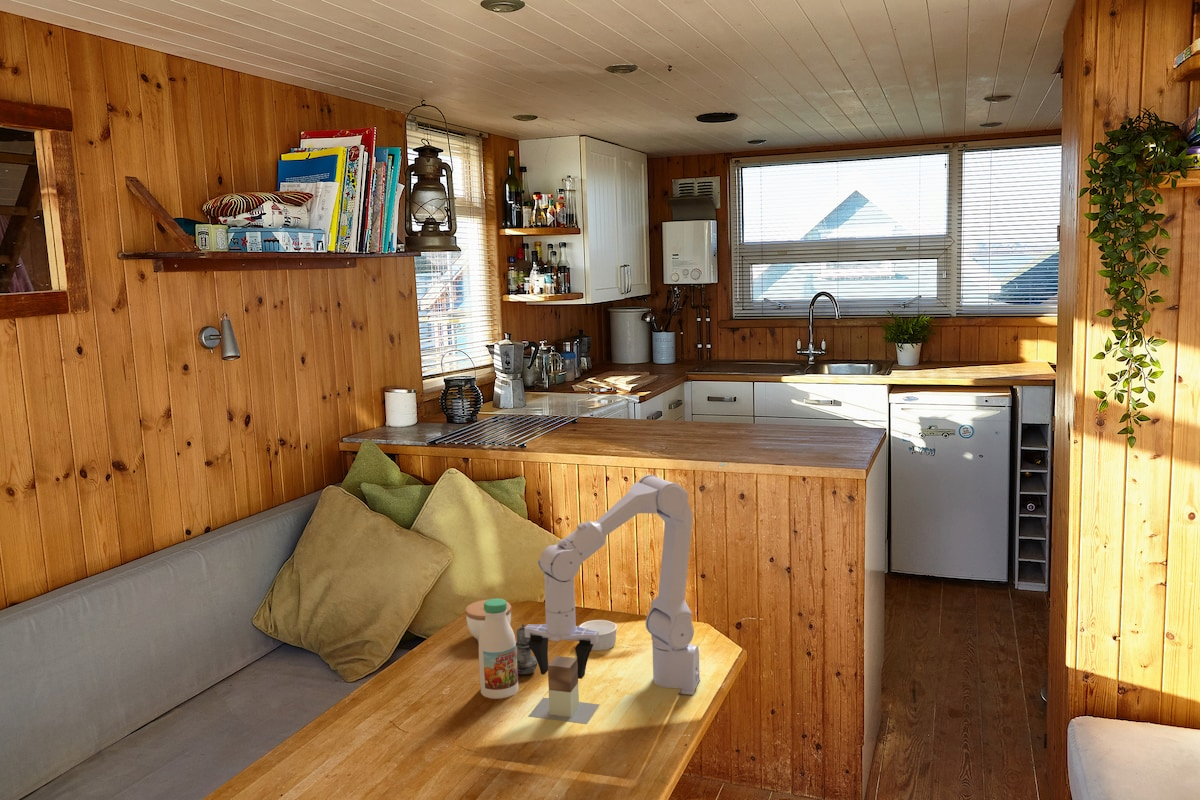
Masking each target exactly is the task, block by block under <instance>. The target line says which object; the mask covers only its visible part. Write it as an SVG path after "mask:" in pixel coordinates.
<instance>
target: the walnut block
mask: <svg viewBox="0 0 1200 800" xmlns="http://www.w3.org/2000/svg"><path fill="white" fill-rule="evenodd" d="M547 677H548V678H547V679H548V691H549V690H555V691H563V692H571V691H572V690H573V689H574V687H575V686H576V685H577V683H578V684H579V679H578V663H577V657H572V656H571V657H570V656H562V655H555V656H554V657H553V658H552V660H551V661H550V662H548V671H547Z"/></svg>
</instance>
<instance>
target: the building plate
mask: <svg viewBox="0 0 1200 800" xmlns="http://www.w3.org/2000/svg"><path fill="white" fill-rule="evenodd" d="M600 705H601V704H598V703H590V702H584V701H579V707H578V708H577V710H576V711H575V713H574V714H573V715H572V717H567V716H559V715H551V714H549V697H542V698H541V700H540V701H539V702H538V703H537V704H536V706H535V707H534V709H533V710H531V712H530V713H529V715H528V718H536V719H537V718H538V719H545V720H554V721H561V722H569V723H577V724H583V725H587V724H588V723H589V722H590V721H591V719H592V717H593V716H594V714H595V712H596V711H597V710H598V709H599V707H600Z"/></svg>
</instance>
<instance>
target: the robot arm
mask: <svg viewBox="0 0 1200 800" xmlns="http://www.w3.org/2000/svg"><path fill="white" fill-rule="evenodd" d="M639 514H650V515H651V514H653V515H654V514H657V515H658V517H660V519H661V520H663V522H664V531H663V543H662V553H661V562H660V563H661V564H660V572H659V573H660V574H659V584H658V586H659V587H658V595H657V596H656V598H654V599H652V601H651V602H650V608H649V611H648V614H647V615H646V618H645V628H646V631H647V632H648V633H649V634H650V636H651V640H652V641H651V642H652V675H653V676H652V680H653V681H652V682H653V683H654V684H655V685H657V686H659V687H661V688H667V689H668V688H669V689H672V688H673V689H676V688H677V689H680V690H679V692H678V694H680V695H689V696H690V695H694V693H695V691H696V688H697V686H698V684H699V681H700V680H701V676H700V650H699V646H697V645H694V644H691V642H692V641H693V637H694V636H695V635H694V634H695V627H694V625H693V622H692V615H693V613H692V611H691V609H690V607H689V606H688V603H687V602H686V591H687V582H688V580H687V579H688V569H689V559H690V548H691V547H690V546H691V539H692V538H691V537H692V527H693V512H692V509H691V506H690V504H689V492H688V491H687V490H686V489H685V488H684V487H683V486H681V485H680V484H679V483H676V482H671V481H668V480H666V479H662V478H661V477H658V476H656V475H655V474H654V475H653V474H647V475H644V476H643V477H640V479H639V480H638V481H636V482H634V483H633V484H631V487H630V488H629V491H628V492H627V493H626V494H625V495H624V496H623V497H621V498H620V499H619V500H618V501H617V502H616V503H615V504H614V505H613V506H612V507H610V508H609V509H608V510H607V511H606V512H605V513H604V514H603V515H601V516H600V517H599V518H598V519H597V520H596V521H589V520H588V521H585V522H580V523H578V524H577V526H576V528H575V530H573V531H572V532H571V533H569V534H568V535H567V536H565V537H564V538H561V539H560V540H558V542H557V544H554V545H553V544H551V545H548V546H547V547H546V548H544V550H543V551H542V552H541V555H540V556H539V557H540V558H539V559H538V560H537V565H538V567H539V570H541V571H542V573H543V578H544V603H545V605H544V607H545V608H544V609H545V624H543V623H541V624H530V623H529V624H527V625H526V626H524V627H525V637H527V638H530V641H529V642H528V645H529V647H530V649H531V653H532V654H533V656H535V657H536V659H537V662H538V663H537V666H538V667H539V670H540V675H546V674H547V673H548V665H549V656H548V649H549V648H548V647H549V641H552V642H560V641H561V640H563V641H571V642H572V641H573V642H578V643H577V644H576V646H575V647H574V651H575V655H576V658H577V663H578V680H579V679H580V680H582V679H583V678H584V677H585V675H586V669H587V664H588V660H589V656H590V654H591V652H592V650H591V649H592V647H593V645H594V644H596V643H597V642H598V641H599V635H598V631H593V630H589V629H585V628H582V627H579V626H578V625H577V623H576V620H577V619H576V600H575V599H576V598H575V597H576V596H575V593H576V592H575V577H576V575H577V574H578V573H579V571H580V567H581V565H582V564H583V563H584V562H585V561H586V560H588V559H589V558H590V557H591V556H593V555H594V554H595V553H597V552H598V551H599V550H600V549H601V548H602V547H604V546H605V544H606V540H607V537H608V535H609V534H610V533H612V532H614V531H615V530H617V529H618V528H619V527H621V526H623V525H624V524H625V523H627V522H628V521H629V520H631V519H632V518H634V517H635V516H637V515H639Z"/></svg>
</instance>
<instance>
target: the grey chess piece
mask: <svg viewBox="0 0 1200 800" xmlns="http://www.w3.org/2000/svg"><path fill="white" fill-rule="evenodd" d="M520 626H521V627H518V629H517V630H516V651H517V670H518V675H530V674H533V672H534V671H535V670H536V668H537V666H538V662H537V659H536V657H535V655H533V652H532V650H531V649H530V647H529V645H528V642H529V641H530V638H527V637H525V627H526V626H525V623H522V624H521V625H520Z"/></svg>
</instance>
